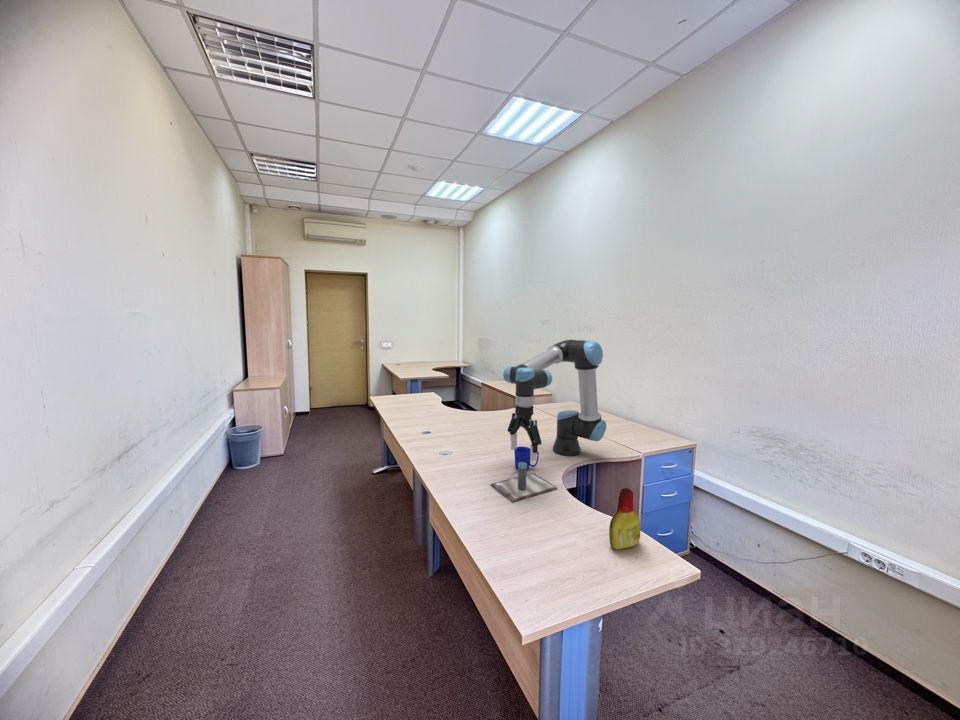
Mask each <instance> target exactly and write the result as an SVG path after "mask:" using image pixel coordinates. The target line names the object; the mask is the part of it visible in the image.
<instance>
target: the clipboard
mask: <svg viewBox="0 0 960 720" xmlns="http://www.w3.org/2000/svg"><path fill="white" fill-rule="evenodd" d="M489 485H490V487H491V488H493V489H494V490H495V491H497V492H498V493H499V494H500V495H502V496H504V498H506V499H507V500H508V501H510V502H511V503H512V504H513V503H516V502H517V503H518V502H520V501H524V500H526V499H530V498H533V497H537V496H539V495H542V494H546V493H550V492H552V491H555V490H558V487H557V486H556V485H554V484H552V483H550V482H549V481H548V480H545V479H544V478H542V477H541V476H538V475H537V474H536V473H533V472H531V473H527V474H526V493H519V492H518V476H516V477H512V478H508V479H505V480H504V479H503V480H501V481H497V482H493V483H490V484H489Z"/></svg>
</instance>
